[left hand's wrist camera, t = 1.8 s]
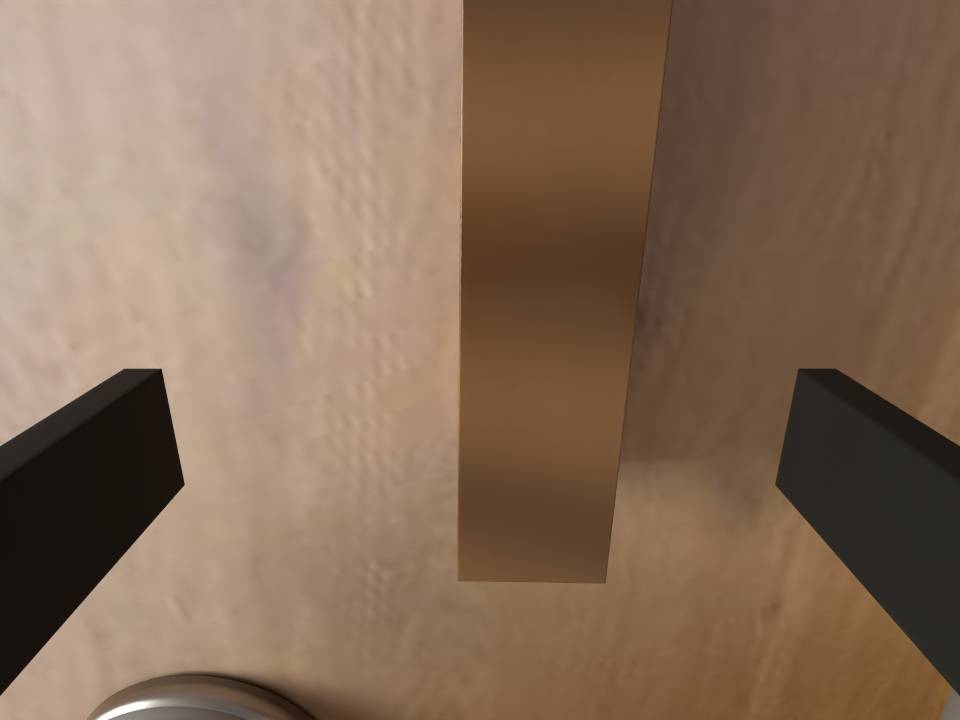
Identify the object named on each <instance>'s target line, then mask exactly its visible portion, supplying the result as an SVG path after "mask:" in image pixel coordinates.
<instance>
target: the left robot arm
mask: <svg viewBox="0 0 960 720" xmlns="http://www.w3.org/2000/svg"><path fill="white" fill-rule="evenodd" d="M184 485H185V484H184V479H183V474H182V469H181V464H180V459H179V454H178V449H177V444H176V439H175V434H174V429H173V424H172V419H171V414H170V408H169V403H168V398H167V393H166V388H165V383H164V378H163V373H162V369H123V370H122V371H120V372H118V373H117V374H115V375H114V376H112V377H110V378H109V379H107V380H106V381H104V382H102V383H101V384H99V385H98V386H96V387H94V388H93V389H91V390H90V391H88V392H86V393H85V394H83V395H82V396H80V397H78V398H77V399H75V400H74V401H72V402H70V403H69V404H67V405H66V406H64V407H62V408H61V409H59V410H58V411H56V412H54V413H53V414H51V415H50V416H48V417H46V418H45V419H43V420H42V421H40V422H38V423H37V424H35V425H34V426H32V427H30V428H29V429H27V430H26V431H24V432H22V433H21V434H19V435H18V436H16V437H14V438H13V439H11V440H10V441H8V442H6V443H5V444H3V445H2V446H0V696H1V694H2V693H3V692H4V691H5V690H6V689H7V688H8V686H9V685H10V684H11V683H12V682H13V681H14V679H15V678H16V677H17V676H18V675H19V674H20V673H21V671H22V670H23V669H24V668H25V667H26V666H27V665H28V663H29V662H30V661H31V660H32V659H33V658H34V657H35V655H36V654H37V653H38V652H39V651H40V650H41V649H42V647H43V646H44V645H45V644H46V643H47V642H48V641H49V639H50V638H51V637H52V636H53V635H54V634H55V633H56V631H57V630H58V629H59V628H60V627H61V626H62V625H63V623H64V622H65V621H66V620H67V619H68V618H69V617H70V615H71V614H72V613H73V612H74V611H75V610H76V609H77V607H78V606H79V605H80V604H81V603H82V602H83V601H84V599H85V598H86V597H87V596H88V595H89V594H90V593H91V591H92V590H93V589H94V588H95V587H96V586H97V585H98V583H99V582H100V581H101V580H102V579H103V578H104V576H105V575H106V574H107V573H108V572H109V571H110V570H111V568H112V567H113V566H114V565H115V564H116V563H117V562H118V560H119V559H120V558H121V557H122V556H123V555H124V554H125V552H126V551H127V550H128V549H129V548H130V547H131V546H132V544H133V543H134V542H135V541H136V540H137V539H138V538H139V536H140V535H141V534H142V533H143V532H144V531H145V530H146V528H147V527H148V526H149V525H150V524H151V523H152V522H153V520H154V519H155V518H156V517H157V516H158V515H159V514H160V512H161V511H162V510H163V509H164V508H165V507H166V506H167V504H168V503H169V502H170V501H171V500H172V499H173V498H174V496H175V495H176V494H177V493H178V492H179V491H180V490H181V488H182V487H183V486H184ZM775 485H776V486H777V487H778V488H779V490H780V491H781V492H782V493H783V494H784V495H785V496H786V498H787V499H788V500H789V501H790V502H791V503H792V504H793V506H794V507H795V508H796V509H797V510H798V511H799V512H800V514H801V515H802V516H803V517H804V518H805V519H806V520H807V522H808V523H809V524H810V525H811V526H812V527H813V528H814V530H815V531H816V532H817V533H818V534H819V535H820V536H821V538H822V539H823V540H824V541H825V542H826V543H827V544H828V546H829V547H830V548H831V549H832V550H833V551H834V552H835V554H836V555H837V556H838V557H839V558H840V559H841V560H842V562H843V563H844V564H845V565H846V566H847V567H848V568H849V570H850V571H851V572H852V573H853V574H854V575H855V576H856V578H857V579H858V580H859V581H860V582H861V583H862V585H863V586H864V587H865V588H866V589H867V590H868V591H869V593H870V594H871V595H872V596H873V597H874V598H875V599H876V601H877V602H878V603H879V604H880V605H881V606H882V607H883V609H884V610H885V611H886V612H887V613H888V614H889V615H890V617H891V618H892V619H893V620H894V621H895V622H896V623H897V625H898V626H899V627H900V628H901V629H902V630H903V631H904V633H905V634H906V635H907V636H908V637H909V638H910V639H911V641H912V642H913V643H914V644H915V645H916V646H917V647H918V649H919V650H920V651H921V652H922V653H923V654H924V655H925V657H926V658H927V659H928V660H929V661H930V662H931V663H932V665H933V666H934V667H935V668H936V669H937V670H938V671H939V673H940V674H941V675H942V676H943V677H944V678H945V679H946V681H947V682H948V683H949V684H950V685H951V686H952V688H953V689H954V690H955V691H956V692H957V693H958V694H959V696H960V446H958V445H957V444H955V443H954V442H952V441H950V440H949V439H947V438H946V437H944V436H942V435H941V434H939V433H938V432H936V431H934V430H933V429H931V428H930V427H928V426H926V425H925V424H923V423H922V422H920V421H918V420H917V419H915V418H914V417H912V416H910V415H909V414H907V413H906V412H904V411H902V410H901V409H899V408H898V407H896V406H894V405H893V404H891V403H890V402H888V401H886V400H885V399H883V398H882V397H880V396H878V395H877V394H875V393H874V392H872V391H870V390H869V389H867V388H866V387H864V386H862V385H861V384H859V383H858V382H856V381H854V380H853V379H851V378H850V377H848V376H846V375H845V374H843V373H842V372H840V371H838V370H837V369H798V373H797V378H796V383H795V388H794V393H793V398H792V403H791V408H790V414H789V419H788V424H787V429H786V434H785V439H784V444H783V449H782V454H781V459H780V464H779V469H778V474H777V479H776V484H775ZM87 720H312V719H311V718H310V717H309V716H308V715H307V714H305V713H304V712H303V711H301V710H300V709H299V708H297V707H296V706H294V705H293V704H291V703H289V702H288V701H286V700H284V699H282V698H280V697H279V696H277V695H275V694H272V693H270V692H268V691H266V690H263V689H260V688H258V687H255V686H252V685H249V684H245V683H242V682H238V681H234V680H229V679H224V678H218V677H210V676H196V675H186V676H170V677H163V678H157V679H152V680H148V681H144V682H141V683H138V684H135V685H132V686H129V687H127V688H125V689H123V690H121V691H119V692H117V693H116V694H114V695H112V696H111V697H109V698H108V699H106V700H105V701H104V702H103V703H101V704H100V705H99V706H98V707H97V708H96V709H95V710H94V711H93V713H92V714H91V715H90V716H89V718H88V719H87Z"/></svg>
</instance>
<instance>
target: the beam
mask: <svg viewBox="0 0 960 720" xmlns="http://www.w3.org/2000/svg"><path fill="white" fill-rule="evenodd" d="M672 5H673V0H462V54H461V178H460V302H459V426H458V551H457V580H458V581H493V582H550V583H605V582H606V574H607V566H608V557H609V548H610V540H611V531H612V522H613V514H614V505H615V497H616V488H617V479H618V471H619V462H620V453H621V445H622V436H623V428H624V419H625V410H626V402H627V393H628V384H629V376H630V367H631V358H632V350H633V341H634V333H635V324H636V315H637V307H638V298H639V289H640V281H641V272H642V264H643V255H644V246H645V238H646V229H647V220H648V212H649V203H650V194H651V186H652V177H653V169H654V160H655V151H656V143H657V134H658V125H659V117H660V108H661V100H662V91H663V82H664V74H665V65H666V56H667V48H668V39H669V30H670V22H671V13H672Z"/></svg>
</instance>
